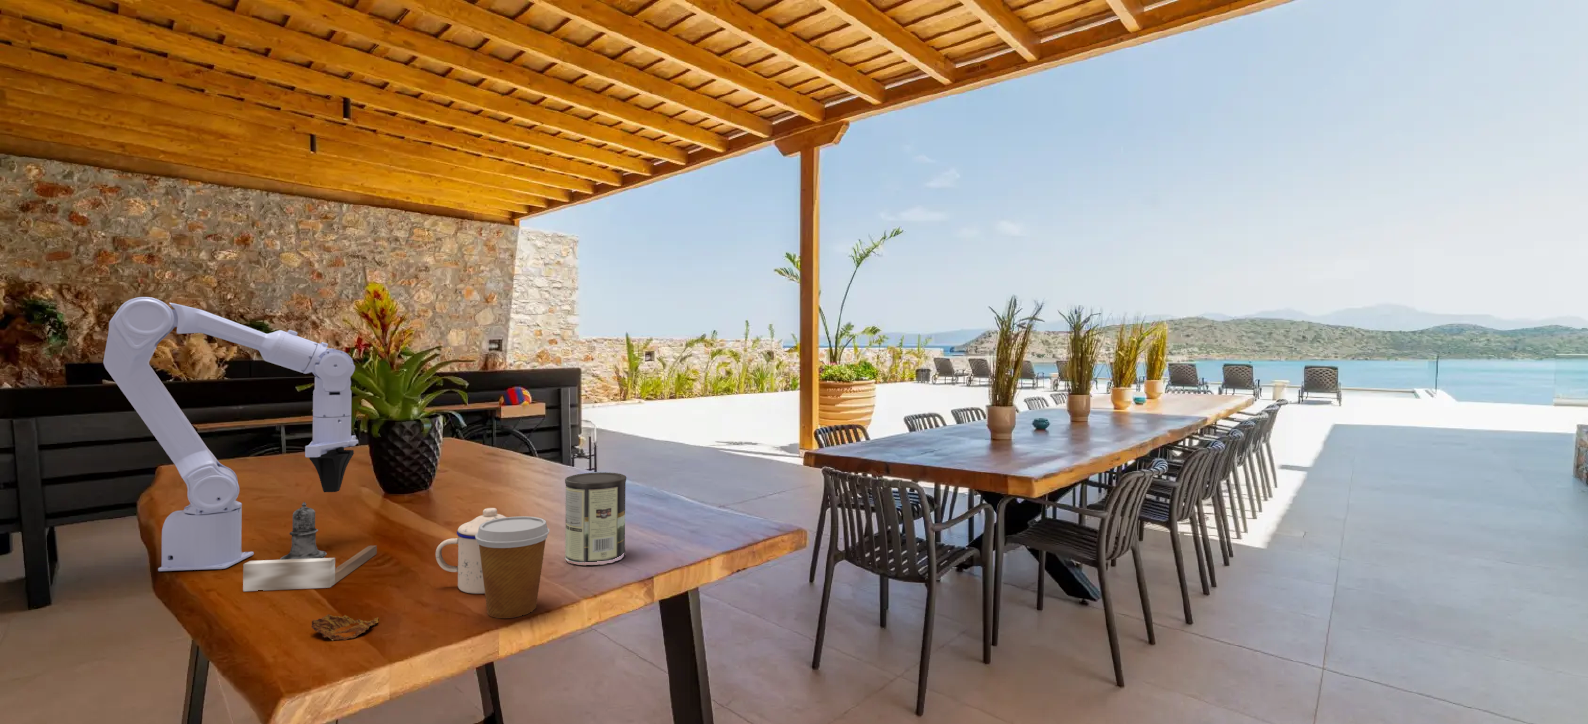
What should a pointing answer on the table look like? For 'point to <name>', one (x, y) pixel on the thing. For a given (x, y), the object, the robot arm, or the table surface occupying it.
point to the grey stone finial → (304, 535)
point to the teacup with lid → (468, 554)
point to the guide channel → (300, 572)
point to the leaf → (335, 622)
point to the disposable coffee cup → (512, 563)
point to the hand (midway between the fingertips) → (331, 491)
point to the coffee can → (595, 517)
